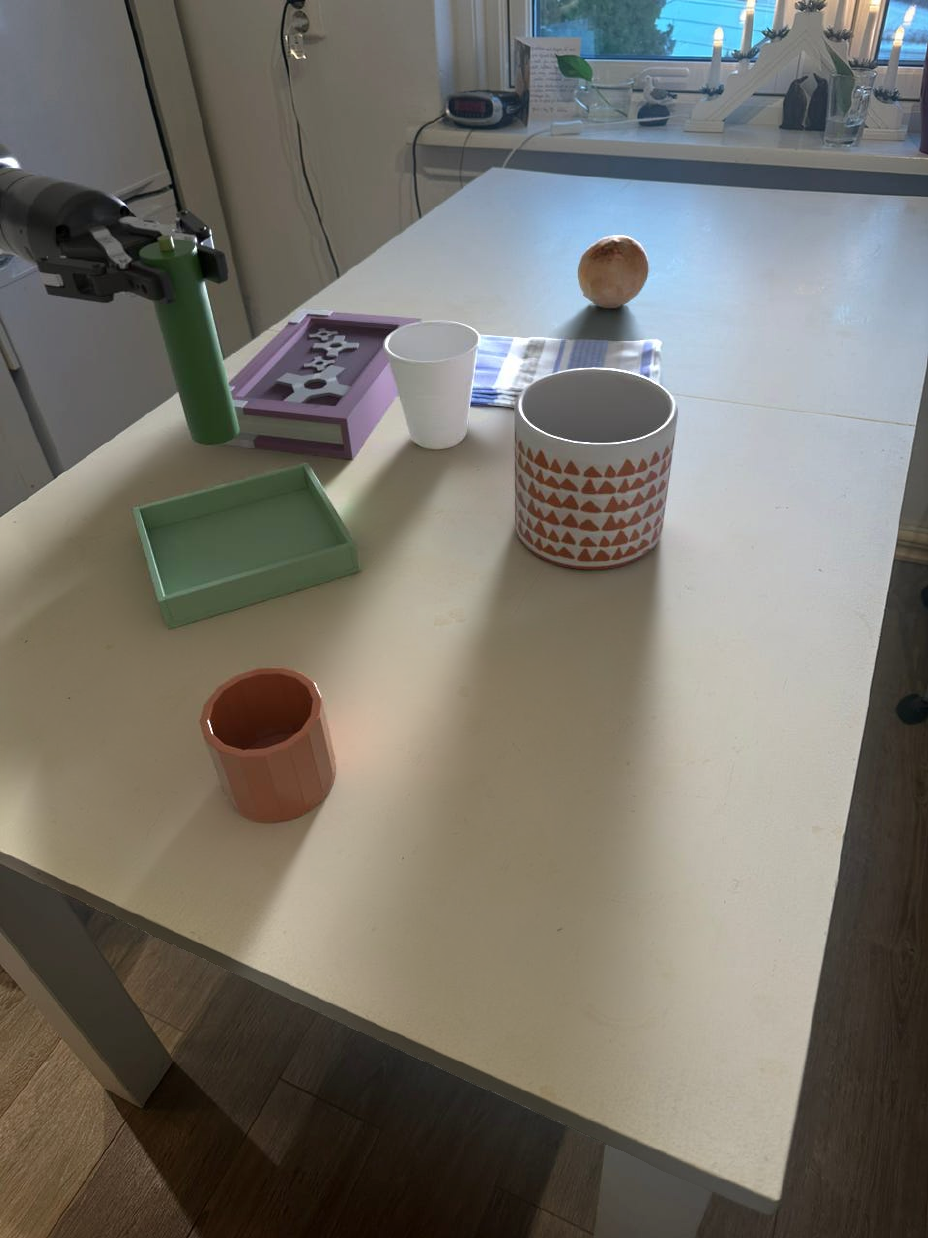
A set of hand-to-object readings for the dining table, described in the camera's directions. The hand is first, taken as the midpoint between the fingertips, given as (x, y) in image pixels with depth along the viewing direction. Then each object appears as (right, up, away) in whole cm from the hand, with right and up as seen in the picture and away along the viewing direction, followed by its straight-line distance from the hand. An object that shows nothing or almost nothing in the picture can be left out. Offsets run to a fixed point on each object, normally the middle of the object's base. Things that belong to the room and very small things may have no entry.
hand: (195, 278), depth 62 cm
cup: (+16, -5, +33) cm, 37 cm away
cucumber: (-2, -9, +10) cm, 14 cm away
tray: (-1, -18, +19) cm, 26 cm away
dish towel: (+31, +4, +42) cm, 52 cm away
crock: (+6, -36, -1) cm, 36 cm away
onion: (+39, +19, +58) cm, 73 cm away
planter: (+31, -16, +20) cm, 40 cm away
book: (+3, +2, +41) cm, 41 cm away
